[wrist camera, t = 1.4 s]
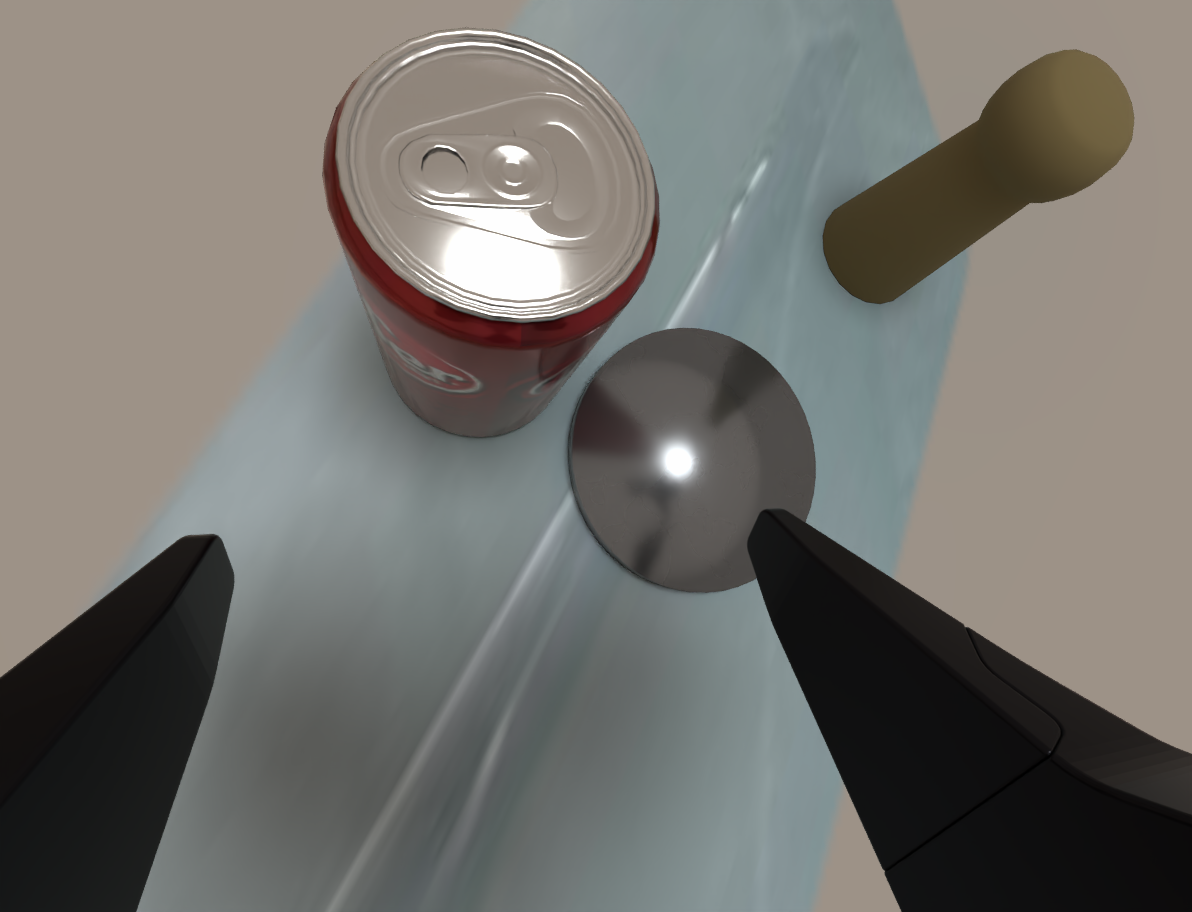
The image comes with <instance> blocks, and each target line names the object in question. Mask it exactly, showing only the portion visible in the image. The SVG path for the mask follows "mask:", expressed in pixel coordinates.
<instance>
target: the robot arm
mask: <svg viewBox="0 0 1192 912" xmlns="http://www.w3.org/2000/svg"><path fill="white" fill-rule="evenodd" d="M747 550H748V554H749V557H750V560H751V563H752V566H753V569H754V572H755V575H756V578H757V581H758V584H759V587H760V590H761V593H762V596H763V599H764V602H765V605H766V608H767V611H768V613H769V616H770V619H771V621H772V624H773V626H774V629H775V631H776V633H777V635H778V638H779V640H780V642H781V644H782V647H783V649H784V651H785V653H786V655H787V658H788V660H789V662H790V664H791V667H792V669H793V671H794V673H795V675H796V678H797V680H798V682H799V684H800V687H801V689H802V691H803V693H804V695H805V698H806V700H807V702H808V704H809V707H810V709H811V711H812V713H813V715H814V718H815V720H816V722H817V724H818V727H819V729H820V731H821V733H822V735H823V738H824V740H825V742H826V744H827V747H828V749H829V751H830V753H831V755H832V758H833V760H834V762H835V764H836V767H837V769H838V771H839V773H840V775H841V778H842V780H843V782H844V784H845V787H846V789H847V791H848V793H849V795H850V798H851V800H852V802H853V804H854V806H855V808H856V811H857V813H858V815H859V817H860V820H861V822H862V824H863V827H864V829H865V831H866V833H867V835H868V838H869V840H870V842H871V844H872V846H873V849H874V851H875V853H876V855H877V857H878V860H879V862H880V864H881V866H882V869H883V870H884V871H885V876H886V878H887V881H888V882H889V885H890V887H891V889H892V891H893V894H894V896H895V898H896V901H897V903H898V905H899V907H900V909H901V912H1192V754H1191V753H1188V752H1186V751H1183V750H1180V749H1178V748H1175V747H1173V746H1171V745H1169V744H1167V743H1164V742H1162V741H1160V740H1158V739H1156V738H1154V737H1153V736H1151V735H1149V734H1147V733H1145V732H1143V731H1141V730H1140V729H1138V728H1136V727H1135V726H1133V725H1131V724H1130V723H1128V722H1126V721H1124V720H1123V719H1121V718H1119V717H1117V716H1116V715H1114V714H1112V713H1110V712H1108V711H1107V710H1105V709H1103V708H1102V707H1100V706H1098V705H1096V704H1095V703H1093V702H1091V701H1090V700H1088V699H1086V698H1084V697H1083V696H1081V695H1079V694H1077V693H1076V692H1074V691H1072V690H1070V689H1069V688H1067V687H1065V686H1063V685H1062V684H1060V683H1058V682H1057V681H1055V680H1053V679H1051V678H1050V677H1048V676H1046V675H1045V674H1043V673H1041V672H1040V671H1038V670H1036V669H1034V668H1032V667H1031V666H1029V665H1028V664H1026V663H1024V662H1023V661H1020V660H1019V659H1018V658H1016V657H1015V656H1013V655H1011V654H1010V653H1008V652H1006V651H1005V650H1003V649H1002V648H1000V647H998V646H996V645H995V644H994V643H992V642H990V641H989V640H987V639H986V638H984V637H983V636H981V635H980V634H978V633H976V632H975V631H973V630H972V629H970V628H969V627H965V626H964V624H962V623H961V622H959V621H958V620H956V619H955V618H953V617H952V616H950V615H948V614H946V613H945V612H944V611H942V610H941V609H939V608H938V607H936V606H934V605H933V604H931V603H930V602H928V601H927V600H925V599H924V598H922V597H920V596H919V595H917V594H916V593H914V592H912V591H911V590H909V589H908V588H906V587H905V586H903V585H902V584H900V583H899V582H897V581H896V580H894V579H892V578H891V577H889V576H888V575H886V574H885V573H883V572H882V571H880V570H878V569H877V568H875V567H874V566H872V565H871V564H869V563H868V562H866V561H864V560H863V559H861V558H860V557H858V556H857V555H855V554H854V553H852V552H850V551H849V550H847V549H846V548H844V547H843V546H841V545H840V544H838V543H836V542H835V541H833V540H832V539H830V538H829V537H827V536H826V535H824V534H822V533H821V532H819V531H818V530H816V529H815V528H813V527H812V526H810V525H808V524H807V523H805V522H804V521H802V520H801V519H799V518H798V517H796V516H794V515H793V514H791V513H790V512H788V511H787V510H785V509H781V508H774V509H764V510H762V511H761V512H760V513H759V515H758V517H757V519H756V521H755V524H754V526H753V528H752V530H751V532H750V534H749V537H748V540H747ZM233 589H234V572H233V569H232V566H231V563H230V560H229V558H228V555H227V552H226V549H225V547H224V544H223V541H222V540H221V538H220V537H219V536H218V535H214V534H204V535H188V536H184V537H182V538H180V539H179V540H177V541H176V542H175V543H173V544H172V545H171V546H170V547H168V548H167V549H166V550H164V551H163V552H162V553H160V554H159V555H158V556H157V557H155V558H154V559H153V560H151V561H150V562H149V563H148V564H146V565H145V566H144V567H142V568H141V569H140V570H139V571H137V572H136V573H135V574H133V575H132V576H131V577H129V578H128V579H127V580H126V581H124V582H123V583H122V584H120V585H119V586H118V587H117V588H115V589H114V590H113V591H111V592H110V593H109V594H107V595H106V596H105V597H104V598H102V599H101V600H100V601H98V602H97V603H96V604H95V605H93V606H92V607H91V608H89V609H88V610H87V611H86V612H84V613H83V614H82V615H80V616H79V617H78V618H76V619H75V620H74V621H73V622H71V623H70V624H69V625H67V626H66V627H65V628H64V629H62V630H61V631H60V632H58V633H57V634H56V635H55V636H54V637H52V638H51V639H49V640H48V641H47V642H45V643H44V644H43V645H42V646H40V647H39V648H38V649H36V650H35V651H34V652H33V653H31V654H30V655H29V656H27V657H26V658H25V659H24V660H22V661H21V662H20V663H18V664H17V665H16V666H14V667H13V668H12V669H11V670H9V671H8V672H7V673H5V674H4V675H3V676H2V677H0V912H136V911H137V908H138V905H139V902H140V899H141V896H142V893H143V890H144V887H145V884H146V881H147V879H148V876H149V873H150V870H151V867H152V864H153V861H154V858H155V855H156V852H157V849H158V846H159V843H160V840H161V838H162V835H163V832H164V829H165V826H166V823H167V820H168V817H169V814H170V811H171V808H172V805H173V802H174V799H175V797H176V794H177V791H178V788H179V785H180V782H181V779H182V776H183V773H184V770H185V767H186V764H187V761H188V758H189V756H190V753H191V750H192V747H193V744H194V741H195V738H196V735H197V732H198V729H199V726H200V723H201V720H202V717H203V715H204V712H205V709H206V706H207V703H208V700H209V696H210V693H211V690H212V687H213V683H214V679H215V675H216V670H217V666H218V661H219V656H220V651H221V646H222V642H223V637H224V632H225V627H226V622H227V618H228V613H229V608H230V603H231V598H232V594H233Z"/></svg>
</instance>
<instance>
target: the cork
mask: <svg viewBox="0 0 1192 912" xmlns="http://www.w3.org/2000/svg"><path fill="white" fill-rule="evenodd" d="M1133 126H1134V113H1133V107H1132V102H1131V100H1130V97H1129V95H1128V92H1127V90H1126V88H1125V86H1124V84H1123V83H1122V81H1121V80H1120V78H1119V76H1118V75H1117V74H1116V73H1115V72H1114V71H1113V70H1112V68H1111V67H1110V66H1109V65H1108V64H1107V63H1105V62H1104V61H1102V60H1101V59H1099V58H1098V57H1097V56H1094V55H1091V54H1088V53H1085V52H1082V51H1079V50H1063V51H1059V52H1055V53H1051V54H1047V55H1045V56H1043V57H1041V58H1040V59H1038V60H1036V61H1034V62H1032V63H1030V64H1029V65H1027V66H1025V67H1024V68H1022V69H1021V70H1019V71H1017V72H1016V73H1015V74H1014V75H1013V76H1011V77H1010V78H1009V79H1008V80H1007V81H1005V82H1004V83H1003V84H1002V85H1001V86H1000V88H999V89H998V90H997V91H996V92H995V94H994V95H993V96H992V97H991V98H990V99H989V101H988V103H987V104H986V106H985V108H984V109H983V111H982V114H981V116H980V118H979V120H978V121H977V122H975V123H973V124H972V125H970V126H968V127H967V128H965V129H964V130H962V131H961V132H959V133H957V134H956V135H954V136H952V137H951V138H949V139H948V140H946V141H944V142H943V143H941V144H939V145H938V146H936V147H935V148H933V149H931V150H930V151H928V152H927V153H925V154H923V155H922V156H920V157H919V158H917V159H915V160H914V161H912V162H910V163H909V164H907V165H906V166H904V167H902V168H901V169H899V170H898V171H896V172H894V173H893V174H891V175H890V176H888V177H886V178H885V179H883V180H882V181H880V182H878V183H877V184H875V185H873V186H872V187H870V188H869V189H867V190H865V191H864V192H862V193H861V194H859V195H857V196H856V197H854V198H853V199H851V200H849V201H848V202H846V203H844V204H843V205H841V206H840V207H838V208H837V209H835V210H834V211H833V212H832V214H831V215H830V217H829V218H828V220H827V221H826V225H825V229H824V233H823V245H824V254H825V257H826V259H827V262H828V265H829V268H830V270H831V271H832V273H833V274H834V276H835V277H836V279H837V281H838V282H839V284H841V285H842V286H843V287H844V288H845V289H846V290H847V291H848V292H849V293H850V294H852V295H853V296H855V297H857V298H859V299H861V300H863V301H865V302H870V303H877V304H882V303H886V302H890V301H893V300H895V299H896V298H898V297H899V296H900V295H902V294H903V293H905V292H906V291H907V290H909V289H910V288H912V287H913V286H914V285H916V284H917V283H919V282H920V281H921V280H923V279H924V278H926V277H927V276H928V275H930V274H931V273H933V272H934V271H935V270H937V269H938V268H940V267H941V266H942V265H944V264H945V263H947V262H948V261H949V260H951V259H952V258H954V257H955V256H956V255H958V254H959V253H961V252H962V251H963V250H965V249H966V248H968V247H969V246H970V245H972V244H973V243H975V242H976V241H977V240H979V239H980V238H981V237H983V236H984V235H986V234H987V233H988V232H990V231H991V230H993V229H994V228H996V227H997V226H998V225H1000V224H1001V223H1003V222H1004V221H1005V220H1007V219H1008V218H1010V217H1011V216H1012V215H1014V214H1015V213H1017V212H1018V211H1019V210H1021V209H1022V208H1023V207H1025V206H1026V205H1028V204H1029V203H1044V202H1049V201H1054V200H1058V199H1061V198H1064V197H1067V196H1070V195H1073V194H1075V193H1077V192H1079V191H1081V190H1083V189H1084V188H1086V187H1088V186H1090V185H1091V184H1093V183H1094V182H1095V181H1097V180H1098V179H1099V178H1100V177H1102V176H1103V175H1104V174H1105V173H1106V172H1108V171H1109V170H1110V169H1111V168H1113V167H1114V166H1115V165H1116V164H1117V163H1118V161H1119V160H1120V159H1121V157H1122V156H1123V155H1124V154H1125V152H1126V151H1127V149H1128V147H1129V145H1130V142H1131V140H1132V135H1133Z"/></svg>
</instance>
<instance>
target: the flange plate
mask: <svg viewBox="0 0 1192 912" xmlns="http://www.w3.org/2000/svg"><path fill="white" fill-rule="evenodd" d="M568 457H569V472H570V477H571V483H572V488H573V491H574V494H575V498H576V501H577V504H578V507H579V509H580V511H581V513H582V515H583V517H584V519H585V522H586V523H587V525H588V526H589V528H590V530H591V531H592V533H593V534H594V536H595V537H596V539H597V540H598V541H599V542H600V544H601V545H602V546H603V547H604V548H605V550H606V551H607V552H608V553H609V554H610V555H611V556H613V557H614V558H615V559H616V560H617V561H618V562H619V563H620V564H622V565H623V566H624V567H626V568H627V569H629V570H630V571H632V572H633V573H634V574H636V575H638V576H640V577H642V578H644V579H646V580H648V581H650V582H653V583H656V584H659V585H662V586H665V587H668V588H672V589H677V590H683V591H688V592H705V593H707V592H716V591H724V590H728V589H731V588H735V587H739V586H741V585H743V584H746V583H748V582H750V581H753V580H754V579H756V575H755V572H754V569H753V566H752V563H751V560H750V557H749V554H748V550H747V540H748V537H749V534H750V532H751V530H752V528H753V526H754V524H755V521H756V519H757V517H758V515H759V513H760V512H761V511H762V510H764V509H774V508H781V509H785V510H787V511H788V512H790V513H791V514H793V515H794V516H796V517H798V518H799V519H801V520H802V521H804V522H806V519H807V516H808V513H809V511H810V508H811V503H812V499H813V494H814V487H815V478H816V461H815V452H814V444H813V440H812V435H811V431H810V427H809V425H808V422H807V419H806V416H805V413H804V411H803V409H802V407H801V405H800V403H799V401H798V399H797V397H796V395H795V394H794V392H793V391H792V389H791V387H790V386H789V384H788V383H787V382H786V380H785V379H784V378H783V377H782V375H781V374H780V373H779V372H778V371H777V370H776V369H775V368H774V367H773V366H772V365H771V364H770V363H769V362H768V361H767V360H766V359H765V358H764V357H762V356H761V355H760V354H759V353H757V352H756V351H755V350H753V349H752V348H750V347H748V346H747V345H745V344H744V343H742V342H740V341H738V340H735V339H733V338H731V337H729V336H726V335H723V334H720V333H717V332H714V331H709V330H703V329H695V328H677V329H667V330H663V331H659V332H655V333H651V334H649V335H646V336H644V337H641V338H639V339H637V340H635V341H633V342H632V343H630V344H628V345H626V346H625V347H623V348H622V349H621V350H620V351H618V352H617V353H616V354H615V355H613V356H612V357H611V358H610V359H609V360H608V361H607V362H606V363H605V364H604V366H603V367H602V368H601V369H600V370H599V371H598V372H597V373H596V374H595V376H594V377H593V378H592V380H591V381H590V383H589V384H588V386H587V387H586V389H585V391H584V393H583V395H582V397H581V399H580V400H579V403H578V405H577V408H576V411H575V414H574V417H573V421H572V426H571V430H570V436H569V449H568Z"/></svg>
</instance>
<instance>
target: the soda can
mask: <svg viewBox="0 0 1192 912" xmlns="http://www.w3.org/2000/svg"><path fill="white" fill-rule="evenodd" d="M322 176H323V183H324V189H325V194H326V200H327V207H328V211H329V213H330V216H331V219H332V222H333V224H334V227H335V230H336V233H337V235H338V238H339V241H340V243H341V246H342V249H343V252H344V254H345V257H346V260H347V263H348V265H349V268H350V271H351V274H352V276H353V279H354V282H355V284H356V287H357V290H358V293H359V295H360V298H361V301H362V304H363V306H364V309H365V312H366V314H367V317H368V320H369V323H370V325H371V328H372V331H373V334H374V336H375V339H376V342H377V344H378V347H379V350H380V353H381V355H382V358H383V361H384V364H385V366H386V369H387V371H388V374H389V377H390V379H391V382H392V384H393V386H394V388H395V389H396V391H397V392H398V394H399V395H400V397H401V398H402V400H403V401H404V402H405V403H406V404H407V405H408V406H409V407H410V408H411V409H412V410H413V411H414V412H415V413H416V414H417V415H418V416H420V417H421V418H423V419H424V420H426V421H427V422H429V423H430V424H432V425H434V426H436V427H438V428H440V429H443V430H445V431H447V432H450V433H454V434H459V435H463V436H470V437H488V436H495V435H501V434H505V433H508V432H510V431H513V430H516V429H519V428H520V427H522V426H524V425H525V424H527V423H529V422H530V421H532V420H533V419H535V418H536V417H537V416H538V415H539V414H540V413H541V412H542V411H543V410H544V409H545V408H546V407H547V406H548V404H549V403H550V402H551V401H552V399H553V398H554V397H555V396H556V394H557V393H558V392H559V390H560V389H561V388H562V387H563V385H564V384H565V383H566V382H567V380H568V379H569V378H570V377H571V375H572V374H573V373H574V371H575V370H576V369H577V368H578V366H579V365H580V364H581V363H582V361H583V360H584V359H585V358H586V356H587V355H588V354H589V352H590V351H591V350H592V349H593V347H594V346H595V345H596V344H597V342H598V341H599V340H600V339H601V337H602V336H603V335H604V333H605V332H606V331H607V330H608V328H609V327H610V326H611V325H612V323H613V322H614V321H615V319H616V318H617V317H618V316H619V314H620V313H621V312H622V311H623V309H624V308H625V307H626V306H627V304H628V303H629V302H630V300H631V299H632V297H633V296H634V294H635V293H636V292H637V290H638V289H639V287H640V286H641V284H642V283H643V282H644V280H645V278H646V275H647V273H648V270H649V268H650V265H651V263H652V261H653V258H654V256H655V250H656V245H657V239H658V233H659V225H660V219H659V194H658V190H657V185H656V181H655V176H654V172H653V167H652V165H651V163H650V160H649V157H648V155H647V153H646V150H645V148H644V145H643V143H642V141H641V138H640V136H639V134H638V131H637V130H636V128H635V126H634V125H633V123H632V122H631V120H630V118H629V117H628V115H627V114H626V112H625V111H624V109H623V107H622V106H621V105H620V104H619V102H618V101H617V100H616V99H615V98H614V97H613V96H612V94H611V93H610V92H609V91H608V90H607V89H606V88H605V86H604V85H603V84H602V83H601V82H599V81H598V80H597V79H596V78H595V77H593V76H592V75H591V74H590V73H589V72H587V71H586V70H585V69H584V68H583V67H582V66H580V65H579V64H577V63H576V62H574V61H573V60H571V59H569V58H568V57H566V56H564V55H563V54H561V53H559V52H558V51H556V50H555V49H553V48H550V47H548V46H545V45H543V44H541V43H538V42H536V41H534V40H531V39H529V38H526V37H523V36H519V35H515V34H511V33H507V32H503V31H499V30H491V29H490V30H489V29H476V28H458V29H449V30H440V31H434V32H432V33H428V34H425V35H422V36H419V37H416V38H412V39H409V40H407V41H406V42H404V43H402V44H400V45H399V46H397V47H395V48H394V49H392V50H390V51H388V52H386V53H385V54H383V55H382V56H381V57H380V58H378V60H376V61H374V62H373V63H372V64H371V65H370V66H369V67H368V68H367V69H366V70H365V71H364V72H363V73H362V74H360V76H358V77H357V78H356V79H355V80H354V81H353V82H352V84H351V85H350V87H349V89H348V90H347V91H346V93H345V95H344V96H343V98H342V100H341V101H340V102H339V104H338V106H337V107H336V110H335V113H334V116H333V119H332V122H331V125H330V128H329V131H328V134H327V137H326V140H325V146H324V159H323V173H322Z"/></svg>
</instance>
